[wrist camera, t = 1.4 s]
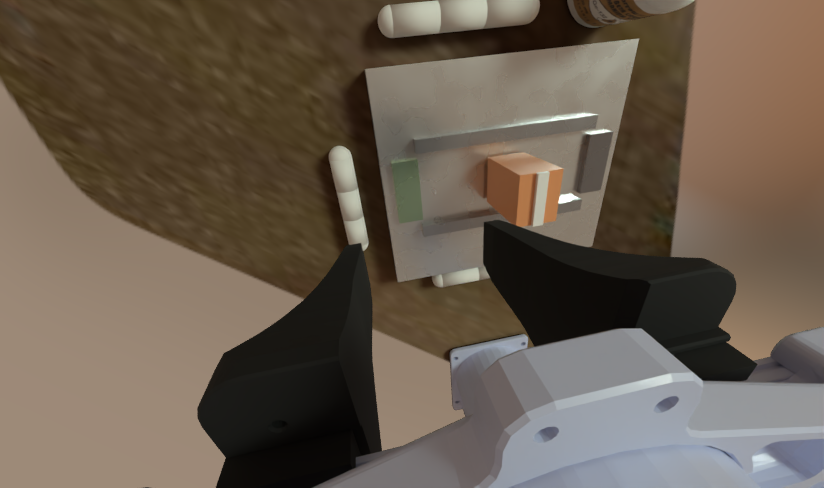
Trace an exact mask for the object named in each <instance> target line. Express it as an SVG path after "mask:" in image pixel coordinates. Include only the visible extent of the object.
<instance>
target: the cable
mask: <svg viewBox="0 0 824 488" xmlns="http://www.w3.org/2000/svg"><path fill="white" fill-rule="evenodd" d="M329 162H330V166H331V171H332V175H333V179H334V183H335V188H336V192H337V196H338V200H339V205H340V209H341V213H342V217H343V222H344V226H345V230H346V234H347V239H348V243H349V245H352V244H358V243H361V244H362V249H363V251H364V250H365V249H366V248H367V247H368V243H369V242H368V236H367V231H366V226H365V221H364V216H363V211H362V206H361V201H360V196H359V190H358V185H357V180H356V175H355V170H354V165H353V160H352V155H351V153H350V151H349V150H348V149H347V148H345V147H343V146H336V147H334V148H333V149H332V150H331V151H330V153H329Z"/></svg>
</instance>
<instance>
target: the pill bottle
mask: <svg viewBox="0 0 824 488" xmlns="http://www.w3.org/2000/svg"><path fill="white" fill-rule="evenodd" d="M693 1H695V0H567V3H568V7H569V10H570V12H571V14H572V16H573V17H574V19H575V20H576V21H577V22H578V23H579V24H581V25H583V26H586V27H590V28H597V27H602V26H607V25H612V24H618V23H621V22H626V21H630V20H635V19H640V18H645V17H650V16H654V15H659V14H664V13H668V12H672V11H675V10H678V9H681V8H683V7H685V6H687V5H689V4H690V3H692V2H693Z"/></svg>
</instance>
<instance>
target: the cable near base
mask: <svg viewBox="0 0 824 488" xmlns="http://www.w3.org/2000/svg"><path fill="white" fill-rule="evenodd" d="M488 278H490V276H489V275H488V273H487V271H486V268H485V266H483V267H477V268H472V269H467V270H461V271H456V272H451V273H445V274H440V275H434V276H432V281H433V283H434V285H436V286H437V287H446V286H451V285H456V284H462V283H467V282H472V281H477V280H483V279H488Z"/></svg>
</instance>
